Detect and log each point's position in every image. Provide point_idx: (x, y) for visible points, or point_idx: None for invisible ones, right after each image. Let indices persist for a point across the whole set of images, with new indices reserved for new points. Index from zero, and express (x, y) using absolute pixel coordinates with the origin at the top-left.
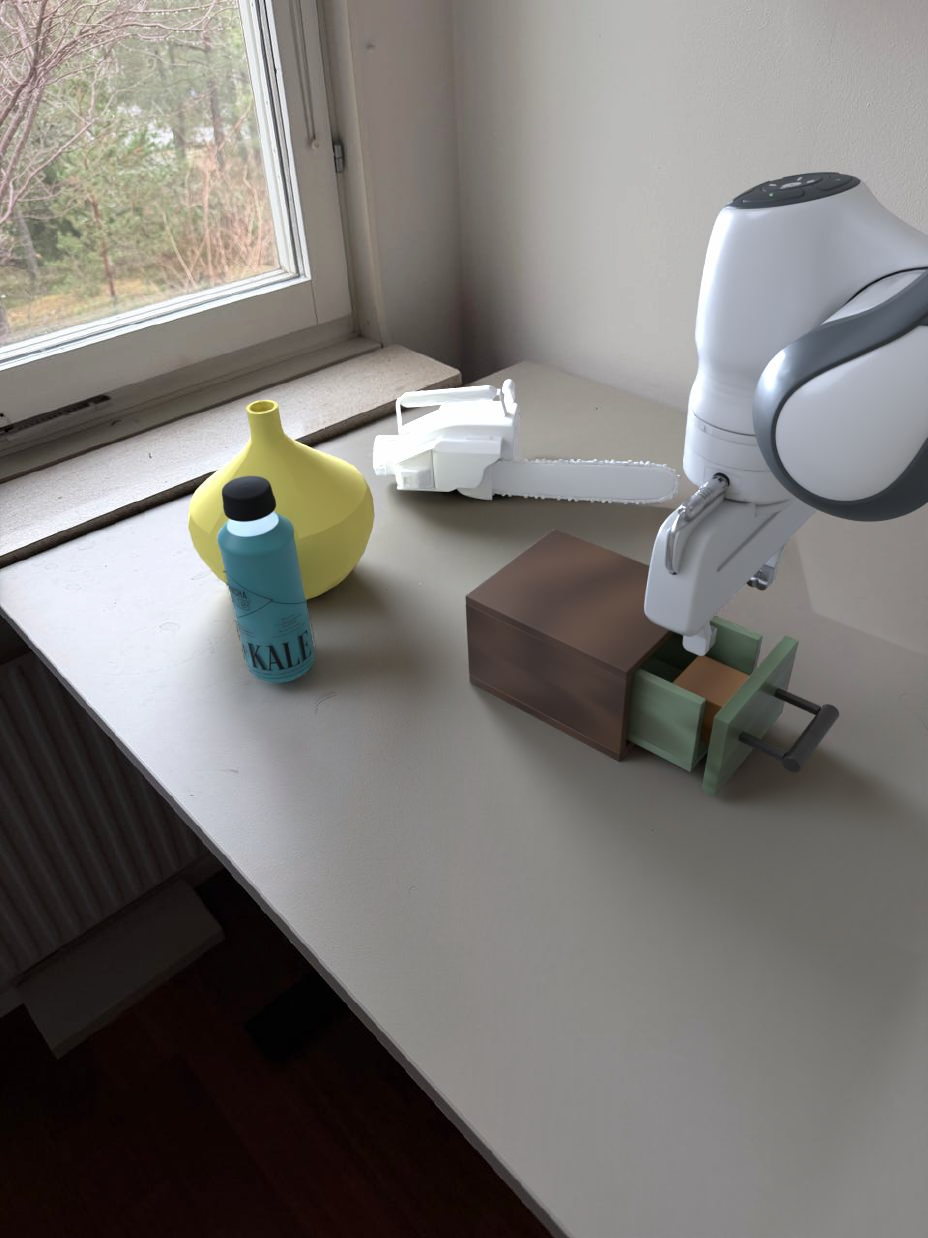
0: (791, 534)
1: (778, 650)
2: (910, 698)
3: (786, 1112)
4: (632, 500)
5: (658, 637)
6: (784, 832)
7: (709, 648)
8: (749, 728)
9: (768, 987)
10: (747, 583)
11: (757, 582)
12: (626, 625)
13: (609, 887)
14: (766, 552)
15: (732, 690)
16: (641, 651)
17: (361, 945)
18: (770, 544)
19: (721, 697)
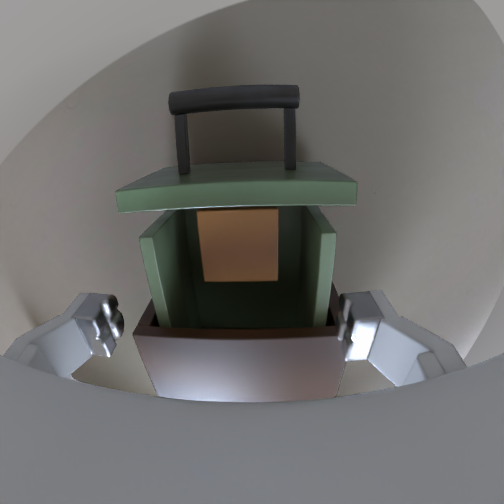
0: (10, 371)
1: (153, 202)
2: (69, 100)
3: (478, 47)
4: (72, 379)
5: (267, 341)
6: (305, 91)
7: (368, 293)
8: (261, 168)
9: (436, 64)
10: (123, 325)
11: (112, 315)
12: (271, 373)
13: (433, 194)
14: (155, 452)
15: (240, 215)
16: (307, 342)
17: (494, 285)
18: (123, 467)
19: (262, 220)
